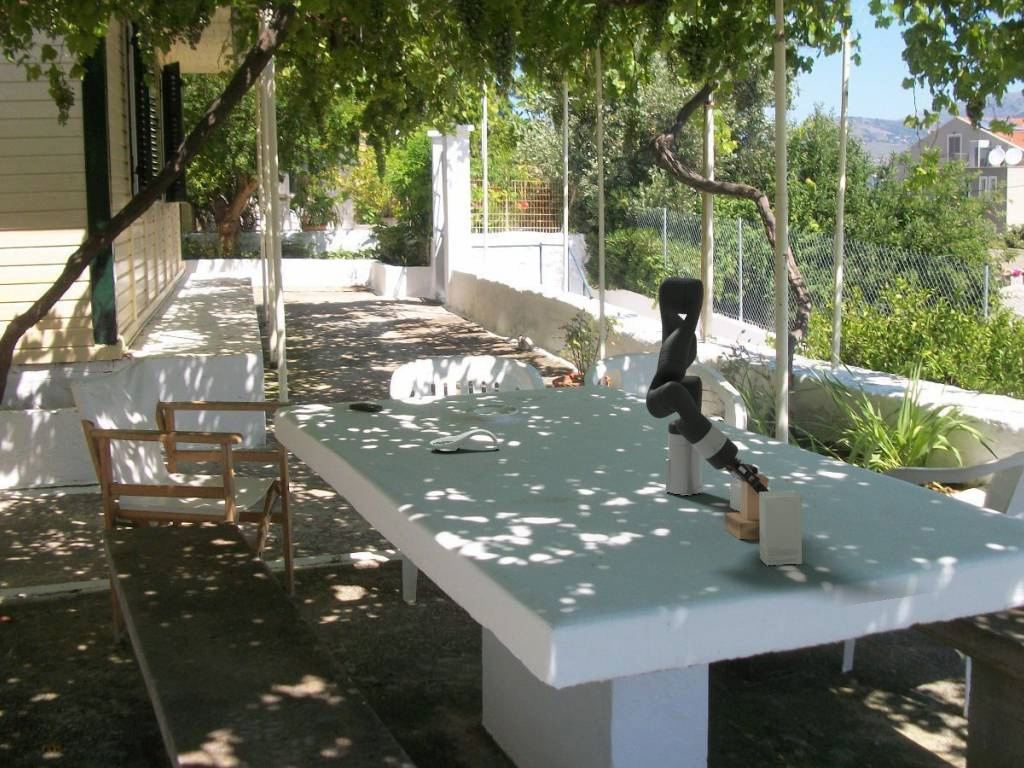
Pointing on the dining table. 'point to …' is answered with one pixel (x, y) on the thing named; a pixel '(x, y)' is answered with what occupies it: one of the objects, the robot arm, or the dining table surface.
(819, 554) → the dining table surface
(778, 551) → the skincare box
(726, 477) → the dining table surface
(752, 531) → the teak block
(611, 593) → the dining table surface
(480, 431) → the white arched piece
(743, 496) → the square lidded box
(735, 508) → the medicine bottle
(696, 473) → the robot arm
